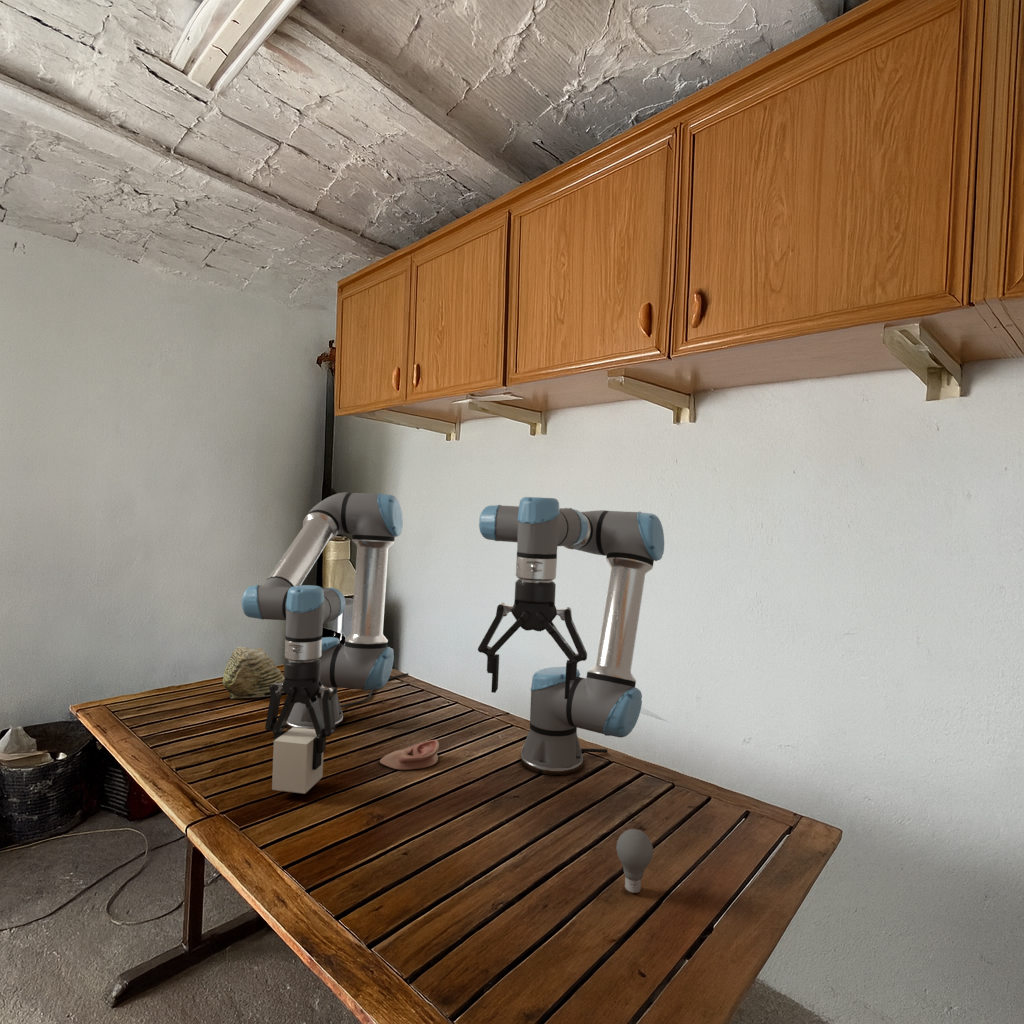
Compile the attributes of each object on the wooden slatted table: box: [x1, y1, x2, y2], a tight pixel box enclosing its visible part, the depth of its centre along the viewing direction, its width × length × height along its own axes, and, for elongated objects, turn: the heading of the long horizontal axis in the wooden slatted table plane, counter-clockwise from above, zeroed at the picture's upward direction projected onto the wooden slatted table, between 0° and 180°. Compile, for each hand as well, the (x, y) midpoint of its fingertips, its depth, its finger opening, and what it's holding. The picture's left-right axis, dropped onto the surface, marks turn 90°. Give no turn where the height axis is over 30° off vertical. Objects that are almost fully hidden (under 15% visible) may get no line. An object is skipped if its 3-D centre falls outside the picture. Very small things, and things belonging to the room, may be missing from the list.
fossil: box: [222, 646, 285, 699], centre depth 198 cm, size 9×18×15 cm, turn 132°
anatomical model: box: [379, 739, 440, 771], centre depth 154 cm, size 13×4×12 cm
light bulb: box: [615, 828, 654, 894], centre depth 106 cm, size 6×6×10 cm
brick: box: [271, 727, 325, 794], centre depth 135 cm, size 8×7×10 cm
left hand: (298, 764), depth 136 cm, fingers closed on brick, 7 cm apart
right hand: (530, 693), depth 118 cm, fingers open, 13 cm apart
